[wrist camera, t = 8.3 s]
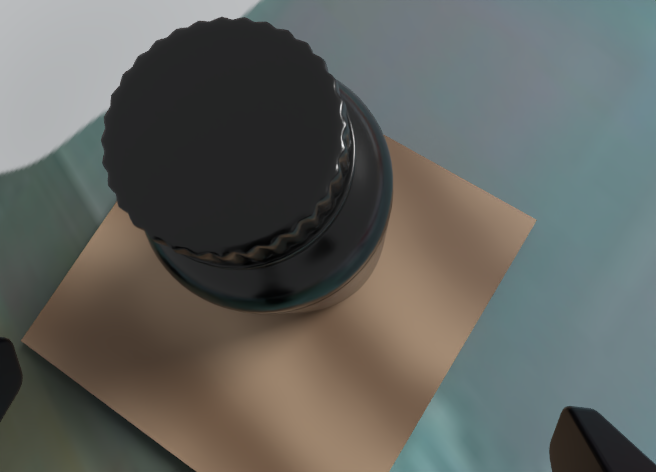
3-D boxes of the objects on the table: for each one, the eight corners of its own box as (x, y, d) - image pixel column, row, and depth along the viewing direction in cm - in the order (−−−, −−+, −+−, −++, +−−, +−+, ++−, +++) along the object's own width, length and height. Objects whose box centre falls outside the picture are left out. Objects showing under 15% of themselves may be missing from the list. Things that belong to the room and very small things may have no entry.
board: (332, 559, 20) (330, 571, 19) (36, 339, 22) (20, 340, 21) (529, 224, 21) (536, 219, 20) (230, 56, 24) (224, 45, 23)
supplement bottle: (196, 255, 21) (-28, 176, 9) (287, 129, 22) (184, -96, 10) (326, 348, 20) (257, 392, 8) (417, 212, 21) (478, 70, 9)
